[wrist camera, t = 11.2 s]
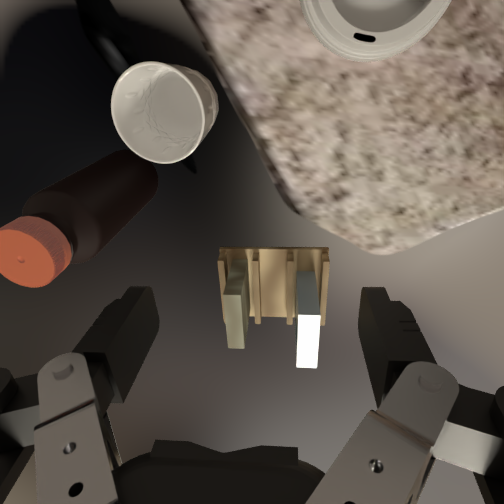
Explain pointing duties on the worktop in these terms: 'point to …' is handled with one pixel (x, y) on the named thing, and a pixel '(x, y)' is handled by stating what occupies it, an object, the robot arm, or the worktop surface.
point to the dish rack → (266, 284)
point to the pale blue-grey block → (307, 319)
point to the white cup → (163, 110)
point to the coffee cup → (371, 25)
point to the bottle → (75, 218)
